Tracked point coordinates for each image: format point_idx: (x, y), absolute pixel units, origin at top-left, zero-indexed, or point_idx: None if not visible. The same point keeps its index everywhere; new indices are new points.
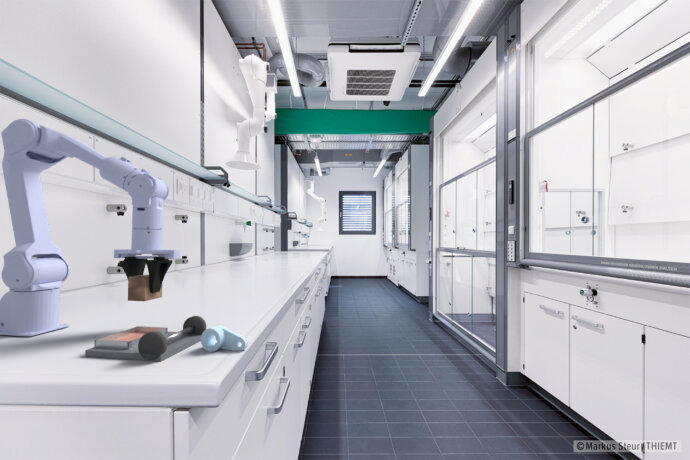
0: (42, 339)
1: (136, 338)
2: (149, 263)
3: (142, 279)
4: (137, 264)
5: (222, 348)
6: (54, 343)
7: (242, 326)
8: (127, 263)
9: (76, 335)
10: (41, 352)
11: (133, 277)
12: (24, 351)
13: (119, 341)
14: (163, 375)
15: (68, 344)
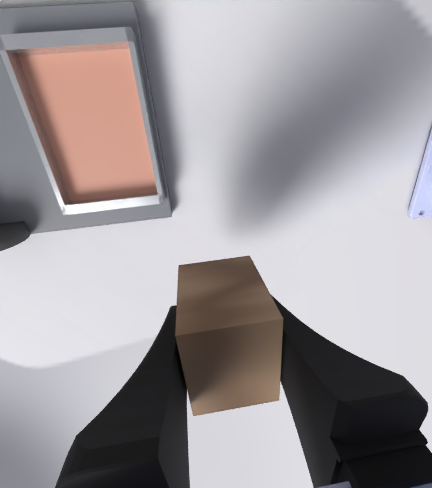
0: (388, 114)
1: (94, 139)
2: (128, 431)
3: (192, 322)
4: (314, 429)
5: None
6: (328, 93)
7: (4, 335)
8: (333, 391)
9: (332, 166)
10: (292, 12)
11: (251, 322)
12: (346, 7)
13: (36, 37)
14: None
15: (285, 96)
